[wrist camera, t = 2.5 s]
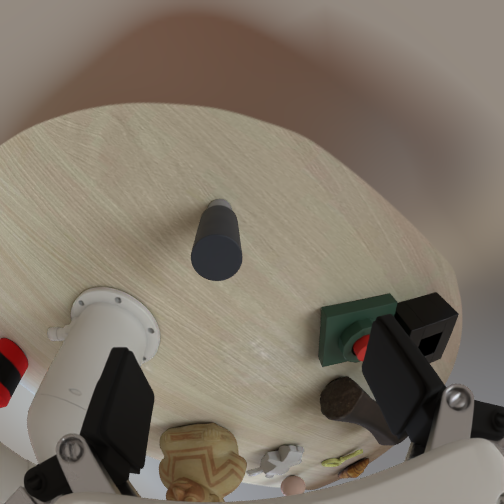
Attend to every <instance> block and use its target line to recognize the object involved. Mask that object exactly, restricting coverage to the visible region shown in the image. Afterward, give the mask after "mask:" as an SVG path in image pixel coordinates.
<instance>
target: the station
mask: <svg viewBox="0 0 504 504" xmlns="http://www.w3.org/2000/svg"><path fill="white" fill-rule="evenodd" d="M396 307H397V301H396V300H395V299H394V298H393V296H392V295H391V294H390V293H389V294H385V295H381V296H376V297H371V298H367V299H362V300H357V301H352V302H347V303H342V304H336V305H331V306H326V307H322V308H321V326H320V341H319V354H318V357H319V360H320V362H321V365H322V367H325V366H329V365H334V364H338V363H342V362H346V361H350V362H355V363H356V362H360V360H358V358H357V356H356V354H355V352H354V350H353V345H354V343H355V342H356V341H357V340H358V339H359V338H361V337H362V336H364V335H368V334H369V335H370V332H371V327H372V323H373V321H375V320H376V318H377V317H378V316H382V315H387V314H392V315H393V316H394V315H395V311H396Z"/></svg>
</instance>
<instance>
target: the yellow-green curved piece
mask: <svg viewBox="0 0 504 504" xmlns="http://www.w3.org/2000/svg"><path fill="white" fill-rule="evenodd" d="M361 453H363V450H362V449H361V450H357V451H355V452H354V453H352V454H349V455H347V456H344V457H340V458H339V459H328V460H325V461H323V462H322V465H323V466H325V467H335V466H339V465H341V464H342V462H344V460H347V459H349V458H352V457H354V456H357V455H359V454H361ZM328 463H333V464H328Z"/></svg>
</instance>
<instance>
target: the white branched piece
mask: <svg viewBox="0 0 504 504" xmlns="http://www.w3.org/2000/svg"><path fill="white" fill-rule="evenodd" d="M303 452H304V449H303V446H296V447H295V446H293V445H289V446H285V445H283V446H280V447H279V450H278V451H272V452H267V453H265V454H266V456H265V457H264V458H263V459H262V460H261V464H260V467H259V468H255V469H251V470H248V471H246V473H247V474H248V476H255V475H257V474H260V473H262V472H264V473H265V474H266V477H267V478H272V477H273V476H274V475H282V474H284V473H286V472H287V471H288V470H289V468H290V467H291V466H294V465H297V464H300V463H301V462H302V460H301V458H302V454H303Z"/></svg>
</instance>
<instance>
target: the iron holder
mask: <svg viewBox="0 0 504 504" xmlns="http://www.w3.org/2000/svg"><path fill="white" fill-rule="evenodd" d="M458 315H459V314H458V313H457V312H456V311H455V310H454V309H453V308H452V307H451V306H450V305H449V304H448V303H447V302H446V301H445V300H444V299H443V298H442V297H441V296H440V295H439V294H438V293H437V292H436V293H433V294H429V295H426V296H422V297H418V298H415V299H411V300H407V301H403V302H399V303H397V307H396V311H395V315H394V318H395V319H396V320H397V321H398V323H399V324H400V325H401V327H402V328H403V329H404V331H405V332H406V333H407V334H408V336H409V337H410V338H411V340H412V341H413V342H414V343H415V344H416V346H417V347H418V348H419V350H420V351H421V352H422V354H423V355H424V356H425V358H426V359H427V361H428V362H429V363H431V362H434V361H436V360H439V359H441V357H442V354H443V352H444V350H445V348H446V345H447V343H448V340H449V338H450V336H451V333H452V331H453V328H454V325H455V323H456V320H457V317H458Z"/></svg>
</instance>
